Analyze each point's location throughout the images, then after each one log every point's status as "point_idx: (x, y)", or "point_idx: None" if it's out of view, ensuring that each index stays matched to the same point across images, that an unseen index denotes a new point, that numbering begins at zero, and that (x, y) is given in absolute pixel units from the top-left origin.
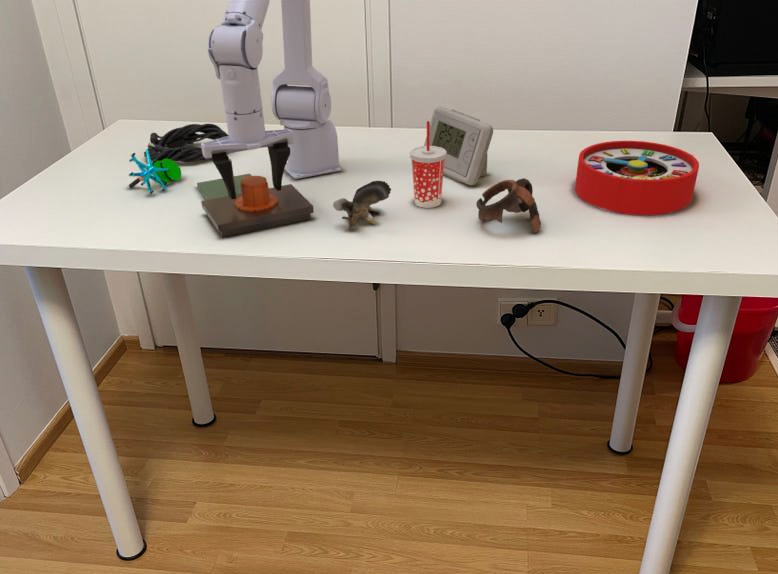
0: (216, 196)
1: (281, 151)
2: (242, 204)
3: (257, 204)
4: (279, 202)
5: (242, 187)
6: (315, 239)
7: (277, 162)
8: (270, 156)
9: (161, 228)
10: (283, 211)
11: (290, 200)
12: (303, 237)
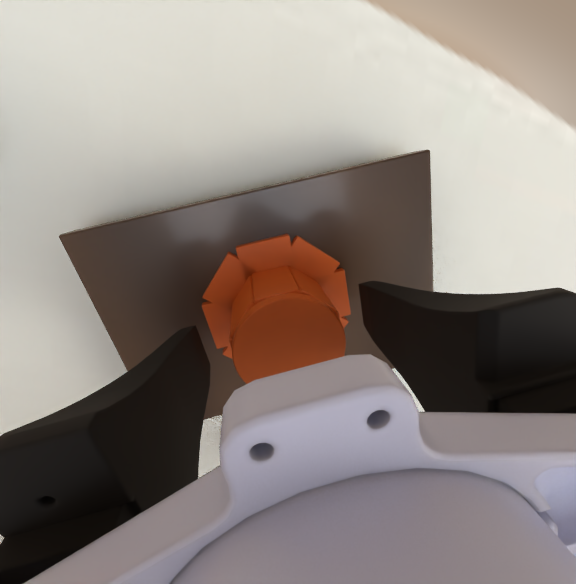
0: None
1: (46, 439)
2: (327, 293)
3: (278, 269)
4: (198, 297)
5: (338, 316)
6: (69, 38)
7: (138, 388)
8: (189, 480)
9: (521, 278)
10: (182, 210)
11: (157, 306)
12: (122, 78)
